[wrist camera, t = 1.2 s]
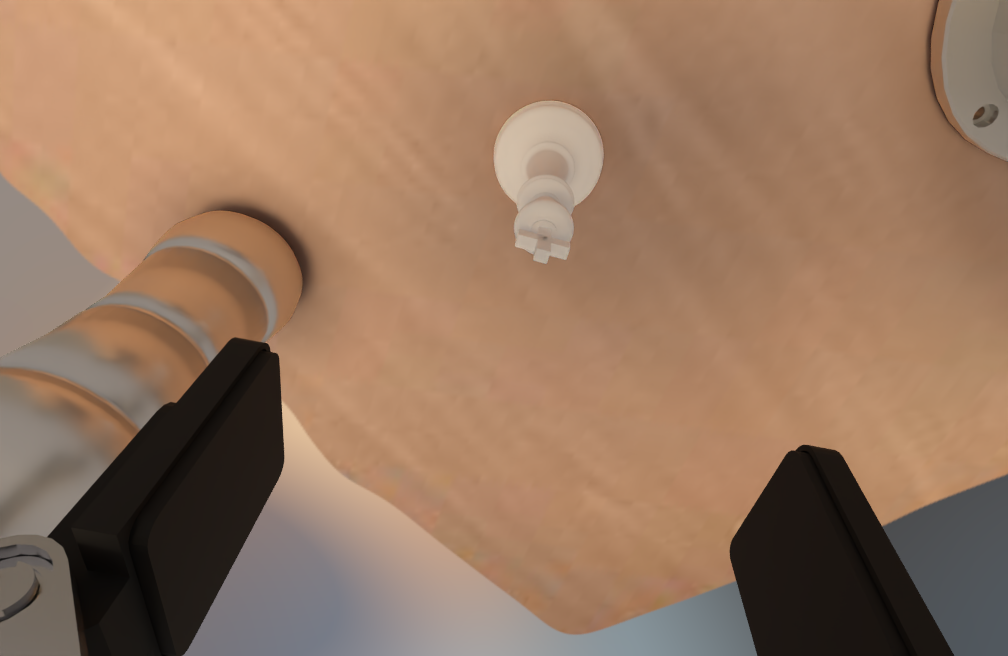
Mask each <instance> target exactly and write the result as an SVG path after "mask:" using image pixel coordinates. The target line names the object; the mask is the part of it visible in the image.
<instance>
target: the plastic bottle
mask: <svg viewBox="0 0 1008 656" xmlns="http://www.w3.org/2000/svg"><path fill="white" fill-rule="evenodd" d="M302 287H303V284H302V273H301V270H300V266H299V263H298V261H297V259H296V257H295V255H294V253H293V251H292V249H291V248H290V246H289V245H288V244H287V242H286V241H285V240H284V239H283V238H282V237H281V236H280V235H279V234H278V233H277V232H276V231H275V230H273V229H272V228H271V227H270V226H268V225H266V224H264V223H263V222H261V221H259V220H257V219H254V218H252V217H249V216H246V215H244V214H241V213H236V212H231V211H211V212H205V213H202V214H200V215H197V216H194V217H191V218H189V219H186V220H184V221H181V222H179V223H177V224H175V225H174V226H173V227H172V228H170V229H169V230H168V231H167V232H166V233H165V234H164V235H163V236H162V237H161V238H160V239H159V240H158V242H157V243H156V244H155V245H154V246H153V247H152V249H151V250H150V252H149V253H148V254H147V256H146V257H145V259H144V260H143V262H142V263H141V264H140V265H138V266H137V267H136V268H135V269H134V270H133V271H132V272H131V273H130V274H129V275H128V276H127V277H125V278H124V279H123V280H122V281H121V282H120V283H119V284H118V285H117V286H116V287H115V288H114V289H113V290H112V291H111V292H109V293H108V294H107V295H106V296H105V297H103V298H102V299H100V300H99V301H97V302H96V303H94V304H93V305H91V306H90V307H88V308H87V309H86V310H85V311H83V312H80V313H79V314H77V315H75V316H74V317H72V318H71V319H69V320H68V321H66V322H65V323H63V324H62V325H60V326H58V327H57V328H55V329H54V330H52V331H51V332H49V333H48V334H46V335H44V336H42V337H40V338H38V339H36V340H34V341H32V342H30V343H28V344H26V345H24V346H22V347H20V348H18V349H16V350H14V351H12V352H10V353H8V354H6V355H4V356H2V357H1V358H0V538H5V537H9V536H14V535H40V536H44V537H47V536H48V535H49V534H50V533H51V532H52V531H53V529H54V528H55V527H56V526H57V525H58V524H59V523H60V521H61V520H62V519H63V518H64V517H65V516H66V515H67V513H68V512H69V511H70V510H71V509H72V508H73V507H74V505H75V504H76V503H77V502H78V501H79V500H80V499H81V497H82V496H83V495H84V494H85V493H86V492H87V491H88V489H89V488H90V487H91V486H92V485H93V484H94V483H95V481H96V480H97V479H98V478H99V477H100V476H101V475H102V473H103V472H104V471H105V470H106V469H107V468H108V467H109V465H110V464H111V463H112V462H113V461H114V460H115V458H116V457H117V456H118V455H119V454H120V453H121V452H122V450H123V449H124V448H125V447H126V446H127V445H128V444H129V442H130V441H131V440H132V439H133V438H134V437H135V436H136V434H137V433H138V432H139V431H140V430H141V429H142V428H143V426H144V425H145V424H146V423H147V422H148V421H149V420H150V418H151V417H152V416H153V415H154V414H155V413H156V412H157V411H158V410H159V409H160V408H161V407H162V406H163V405H165V404H167V403H169V402H175V403H177V401H178V400H179V399H180V398H181V397H182V396H183V394H184V393H185V392H186V391H187V390H188V388H189V387H190V386H191V385H192V384H193V383H194V381H195V380H196V379H197V378H198V377H199V375H200V374H201V373H202V372H203V371H204V370H205V368H206V367H207V366H208V365H209V364H210V362H211V361H212V360H213V359H214V358H215V357H216V355H217V354H218V353H219V352H220V351H221V349H222V348H223V347H224V346H225V345H226V344H227V342H228V341H229V340H230V339H232V338H234V337H237V338H242V339H248V340H253V341H258V342H263V343H265V342H266V341H268V340H269V339H271V338H272V337H273V336H274V335H275V334H276V333H277V332H278V331H279V330H281V329H282V328H283V327H284V326H285V325H286V324H287V323H288V321H289V320H290V319H291V317H292V315H293V313H294V311H295V309H296V306H297V304H298V301H299V299H300V296H301V292H302Z"/></svg>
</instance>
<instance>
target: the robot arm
mask: <svg viewBox="0 0 1008 656" xmlns="http://www.w3.org/2000/svg"><path fill="white" fill-rule="evenodd" d="M931 73H932V78H933V83H934V88H935V92H936V97H937V99H938V101H939V103H940V105H941V107H942V109H943V111H944V113H945V115H946V117H947V119H948V121H949V122H950V123H951V124H952V126H953V127H954V128H955V129H956V130H957V131H958V132H959V133H960V134H961V135H962V136H963V138H964V139H965V140H967V141H968V142H970V143H972V144H973V145H975V146H977V147H978V148H980V149H981V150H983V151H985V152H986V153H988V154H991V155H993V156H995V157H998V158H1000V159H1003V160H1005V161H1007V162H1008V0H939V3H938V7H937V12H936V17H935V22H934V26H933V31H932V36H931ZM283 464H284V442H283V423H282V405H281V384H280V365H279V356H278V354H276V353H272V352H270V347H269V345H268V344H267V343H263V342H258V341H253V340H248V339H242V338H237V337H234V338H232V339H230V340H229V341H228V342H227V344H226V345H225V346H224V347H223V348H222V349H221V351H220V352H219V353H218V354H217V355H216V357H215V358H214V359H213V360H212V361H211V362H210V364H209V365H208V366H207V367H206V368H205V370H204V371H203V372H202V373H201V374H200V375H199V377H198V378H197V379H196V380H195V381H194V383H193V384H192V385H191V386H190V387H189V388H188V390H187V391H186V392H185V393H184V394H183V396H182V397H181V398H180V399H179V400H178V401H177V403H175V402H169V403H167V404H165V405H163V406H162V407H161V408H160V409H159V410H158V411H157V412H156V413H155V414H154V415H153V416H152V417H151V418H150V420H149V421H148V422H147V423H146V424H145V425H144V426H143V428H142V429H141V430H140V431H139V432H138V433H137V434H136V436H135V437H134V438H133V439H132V440H131V441H130V442H129V444H128V445H127V446H126V447H125V448H124V449H123V450H122V452H121V453H120V454H119V455H118V456H117V457H116V458H115V460H114V461H113V462H112V463H111V464H110V465H109V467H108V468H107V469H106V470H105V471H104V472H103V473H102V475H101V476H100V477H99V478H98V479H97V480H96V481H95V483H94V484H93V485H92V486H91V487H90V488H89V489H88V491H87V492H86V493H85V494H84V495H83V496H82V497H81V499H80V500H79V501H78V502H77V503H76V504H75V505H74V507H73V508H72V509H71V510H70V511H69V512H68V513H67V515H66V516H65V517H64V518H63V519H62V520H61V521H60V523H59V524H58V525H57V526H56V527H55V528H54V529H53V531H52V532H51V533H50V534H49V535H48V536H47V537H44V536H40V535H14V536H9V537H5V538H0V656H182V655H184V654H185V652H186V651H187V649H188V648H189V646H190V644H191V643H192V640H193V639H194V637H195V635H196V633H197V631H198V629H199V628H200V626H201V624H202V622H203V620H204V618H205V616H206V614H207V613H208V611H209V609H210V607H211V605H212V603H213V601H214V599H215V598H216V596H217V594H218V592H219V590H220V588H221V586H222V584H223V583H224V580H225V579H226V577H227V575H228V573H229V571H230V569H231V567H232V565H233V564H234V562H235V560H236V558H237V556H238V554H239V552H240V550H241V549H242V547H243V545H244V543H245V541H246V539H247V537H248V535H249V534H250V532H251V530H252V528H253V526H254V524H255V522H256V520H257V518H258V516H259V515H260V513H261V511H262V509H263V507H264V505H265V503H266V501H267V500H268V498H269V496H270V494H271V492H272V490H273V488H274V486H275V485H276V483H277V481H278V479H279V477H280V475H281V472H282V468H283ZM730 559H731V563H732V567H733V570H734V574H735V577H736V581H737V584H738V588H739V591H740V595H741V599H742V602H743V605H744V609H745V613H746V616H747V620H748V623H749V627H750V631H751V634H752V637H753V641H754V645H755V648H756V652H757V656H954V654H953V653H952V651H951V649H950V647H949V646H948V644H947V642H946V640H945V638H944V637H943V635H942V633H941V631H940V629H939V628H938V626H937V624H936V622H935V620H934V619H933V617H932V615H931V613H930V612H929V610H928V608H927V606H926V604H925V603H924V601H923V599H922V597H921V595H920V594H919V592H918V590H917V588H916V587H915V585H914V583H913V581H912V579H911V578H910V576H909V574H908V572H907V571H906V569H905V567H904V565H903V563H902V562H901V560H900V558H899V556H898V554H897V553H896V551H895V549H894V547H893V546H892V544H891V542H890V540H889V539H888V537H887V535H886V533H885V531H884V529H883V528H882V526H881V524H880V522H879V521H878V519H877V517H876V515H875V513H874V512H873V510H872V508H871V506H870V504H869V503H868V501H867V499H866V497H865V496H864V494H863V492H862V490H861V488H860V487H859V485H858V483H857V481H856V479H855V478H854V476H853V474H852V472H851V471H850V469H849V467H848V465H847V463H846V462H845V460H844V458H843V457H842V455H841V454H840V453H839V452H837V451H836V450H831V449H826V448H820V447H815V446H810V445H802V446H800V447H798V448H797V450H796V451H790V452H788V453H787V454H786V456H785V457H784V459H783V460H782V462H781V464H780V465H779V467H778V468H777V470H776V472H775V473H774V475H773V476H772V478H771V479H770V481H769V483H768V484H767V486H766V487H765V489H764V490H763V492H762V494H761V495H760V497H759V498H758V500H757V501H756V503H755V505H754V506H753V508H752V509H751V511H750V512H749V514H748V516H747V517H746V519H745V520H744V522H743V523H742V525H741V527H740V528H739V530H738V531H737V533H736V534H735V536H734V538H733V540H732V542H731V545H730Z"/></svg>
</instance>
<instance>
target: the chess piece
mask: <svg viewBox="0 0 1008 656" xmlns="http://www.w3.org/2000/svg"><path fill="white" fill-rule="evenodd" d="M603 160H604V149H603V143H602V139H601V136H600V133H599V131H598V129H597V127H596V126H595V124H594V123H593V121H592V120H591V119H590V118H589V117H588V116H587V115H586V114H585V113H584V112H583V111H581V110H580V109H578V108H576V107H575V106H573V105H570V104H568V103H564V102H560V101H551V100H549V101H539V102H535V103H532V104H529V105H527V106H524V107H523V108H521V109H519V110H518V111H516V112H515V113H514V114H513V115H511V116H510V117H509V119H508V120H507V121H506V122H505V123H504V125H503V126H502V128H501V130H500V131H499V134H498V136H497V139H496V142H495V146H494V167H495V172H496V176H497V179H498V181H499V184H500V186H501V187H502V189H503V190H504V192H505V193H506V194H507V195H508V197H509V198H510V199H511V200H513V201H514V202H515V203H516V204H517V209H518V212H519V213H518V214H517V216H516V219H515V222H514V234H515V237H516V242H515V247H518V248H522V249H524V250H526V251H527V252H529V253H531V254H534V256H533V261H537V262H540V263H544V264H547V262H548V259H549V256H552V257H556V258H560V259H563V260H566V259H567V256H568V253H569V250H570V241H571V239H572V236H573V232H574V223H573V219H572V216H571V214H572V212H573V209H574V206H576V205H577V204H579V203H580V202H582V201H583V200H584V199H585V198H586V197H587V196H588V195H589V194H590V193H591V191H592V190H593V189H594V187H595V185H596V184H597V182H598V179H599V177H600V174H601V170H602V166H603Z"/></svg>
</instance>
